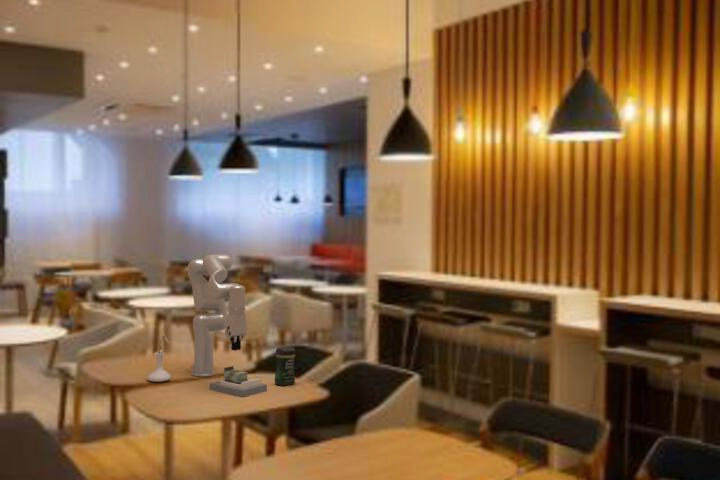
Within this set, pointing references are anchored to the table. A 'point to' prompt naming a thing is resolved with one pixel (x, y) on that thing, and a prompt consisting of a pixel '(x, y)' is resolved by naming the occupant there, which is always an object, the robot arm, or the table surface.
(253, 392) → the dock
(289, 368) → the coffee jar
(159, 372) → the flower in vase
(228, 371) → the cart
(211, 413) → the table surface
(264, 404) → the table surface
